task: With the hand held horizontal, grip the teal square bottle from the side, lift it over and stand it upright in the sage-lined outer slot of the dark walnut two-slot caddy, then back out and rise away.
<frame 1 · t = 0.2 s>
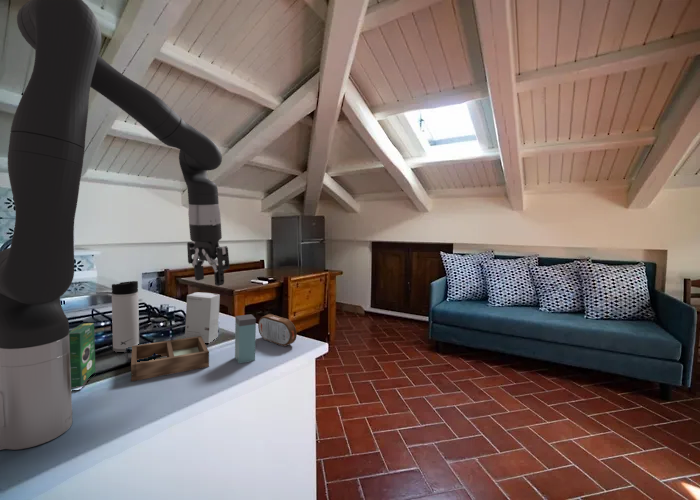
hand: (209, 282, 87), 22 cm above the counter, tool pointing down, fingers open, 8 cm apart
caddy: (170, 363, 86), on the counter
travel mug: (126, 349, 94), on the counter
skincare box: (202, 340, 104), on the counter
teal square bottle: (244, 358, 91), on the counter
tin: (276, 343, 104), on the counter
coffee box: (82, 383, 75), on the counter
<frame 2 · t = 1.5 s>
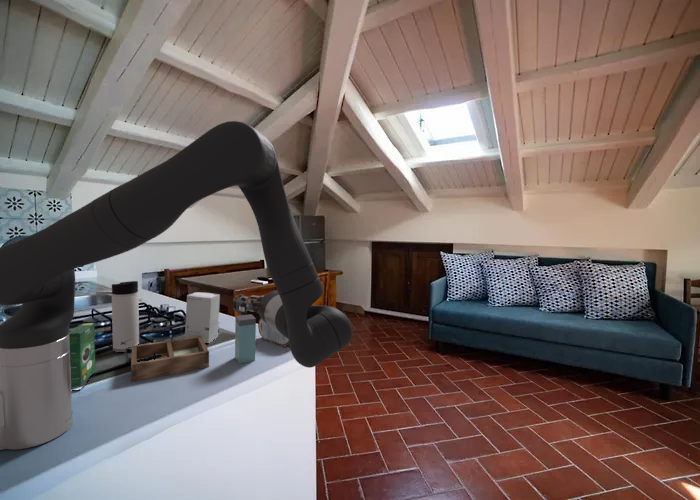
hand: (257, 296, 81), 20 cm above the counter, tool horizontal, fingers open, 8 cm apart
nothing on the counter moved.
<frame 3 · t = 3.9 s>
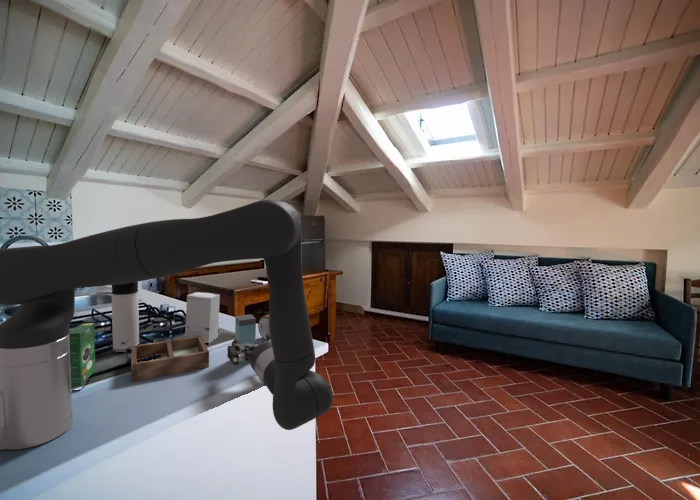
hand: (251, 340, 86), 7 cm above the counter, tool horizontal, fingers open, 8 cm apart
nothing on the counter moved.
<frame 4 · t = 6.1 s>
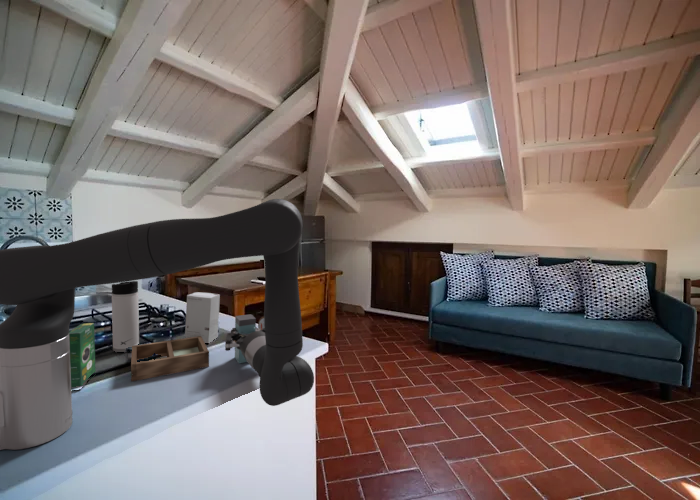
hand: (242, 329, 93), 8 cm above the counter, tool horizontal, fingers closed on teal square bottle, 4 cm apart
teal square bottle: (244, 358, 91), on the counter, touching gripper
everything else where it was.
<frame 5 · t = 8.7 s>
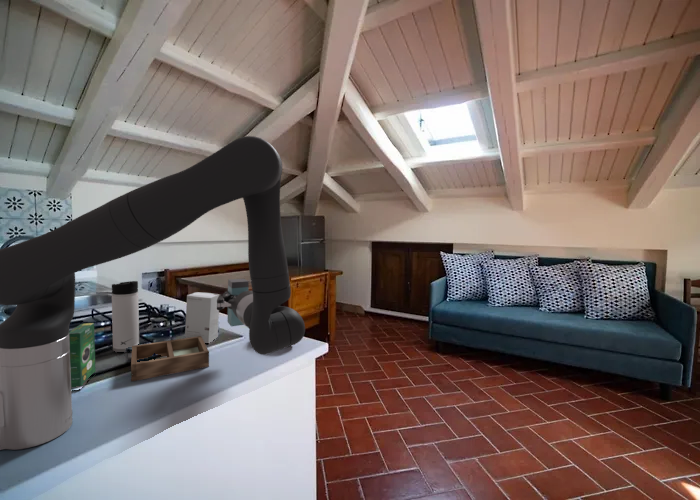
hand: (235, 294, 92), 18 cm above the counter, tool horizontal, fingers closed on teal square bottle, 4 cm apart
teal square bottle: (237, 323, 90), point 10 cm above the counter, touching gripper
everything else where it was.
when the fingers open (10 cm above the counter, at t = 11.5 s): teal square bottle drops 1 cm, resting on caddy.
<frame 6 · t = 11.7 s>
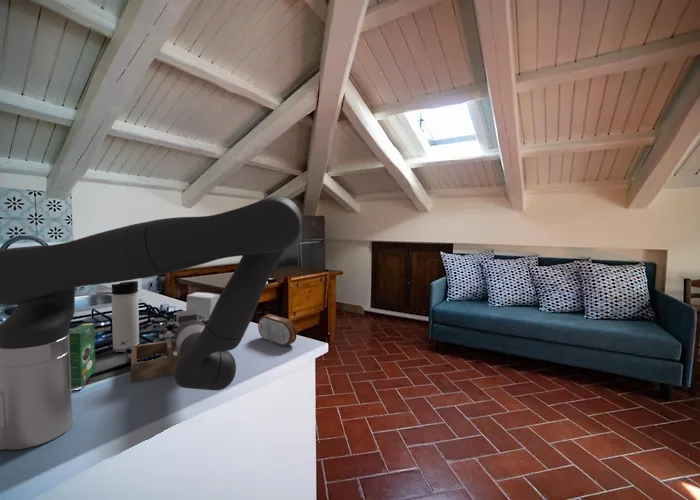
hand: (185, 320, 90), 11 cm above the counter, tool horizontal, fingers open, 6 cm apart
teal square bottle: (186, 355, 89), point 1 cm above the counter, touching caddy
everything else where it was.
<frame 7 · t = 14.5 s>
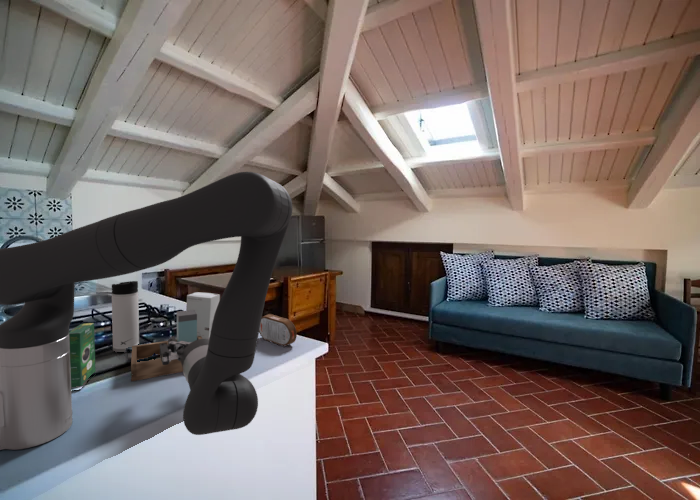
hand: (192, 337, 78), 10 cm above the counter, tool horizontal, fingers open, 8 cm apart
nothing on the counter moved.
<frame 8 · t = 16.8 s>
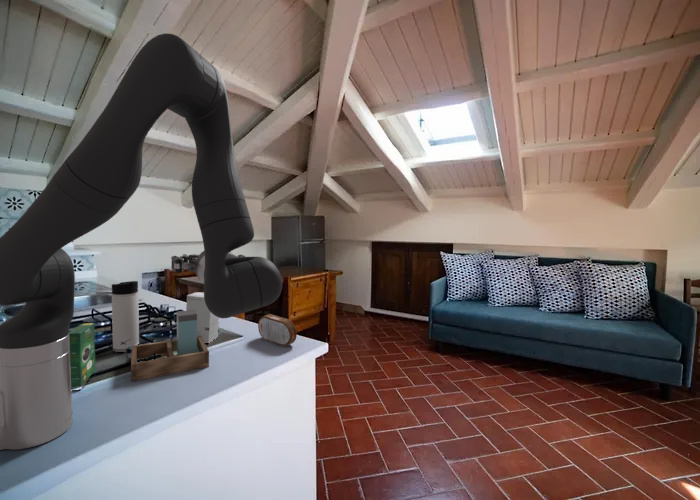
hand: (205, 258, 74), 30 cm above the counter, tool horizontal, fingers open, 8 cm apart
nothing on the counter moved.
at the end: teal square bottle 0.0 cm from the target spot on the caddy, point 1.3 cm above the caddy's base; teal square bottle tilted 0°; the gripper is holding nothing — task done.
